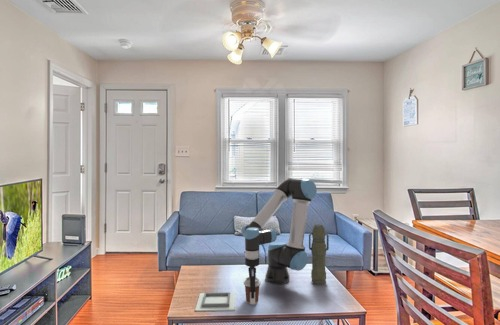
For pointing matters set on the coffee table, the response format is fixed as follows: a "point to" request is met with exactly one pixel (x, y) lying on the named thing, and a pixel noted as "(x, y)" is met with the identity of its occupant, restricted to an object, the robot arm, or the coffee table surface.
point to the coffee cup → (247, 289)
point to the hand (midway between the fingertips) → (252, 299)
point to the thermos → (318, 254)
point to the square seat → (216, 302)
